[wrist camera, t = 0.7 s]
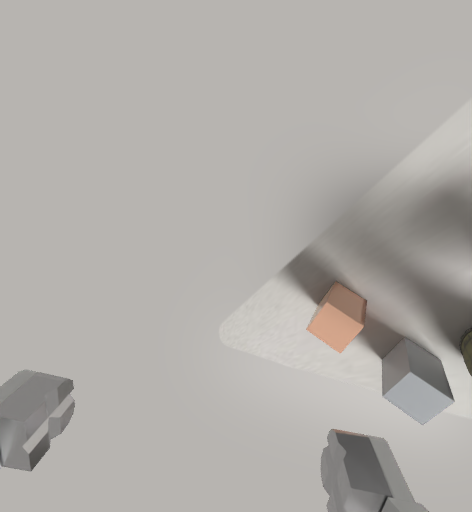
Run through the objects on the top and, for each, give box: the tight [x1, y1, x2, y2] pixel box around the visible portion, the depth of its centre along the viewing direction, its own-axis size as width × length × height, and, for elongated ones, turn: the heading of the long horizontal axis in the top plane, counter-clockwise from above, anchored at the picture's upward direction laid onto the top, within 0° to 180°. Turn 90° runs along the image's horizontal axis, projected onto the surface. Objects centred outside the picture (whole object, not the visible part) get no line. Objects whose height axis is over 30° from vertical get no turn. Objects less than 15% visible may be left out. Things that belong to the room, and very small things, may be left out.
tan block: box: [306, 281, 367, 353], centre depth 47 cm, size 6×6×10 cm
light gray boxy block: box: [382, 337, 455, 425], centre depth 44 cm, size 6×6×10 cm
